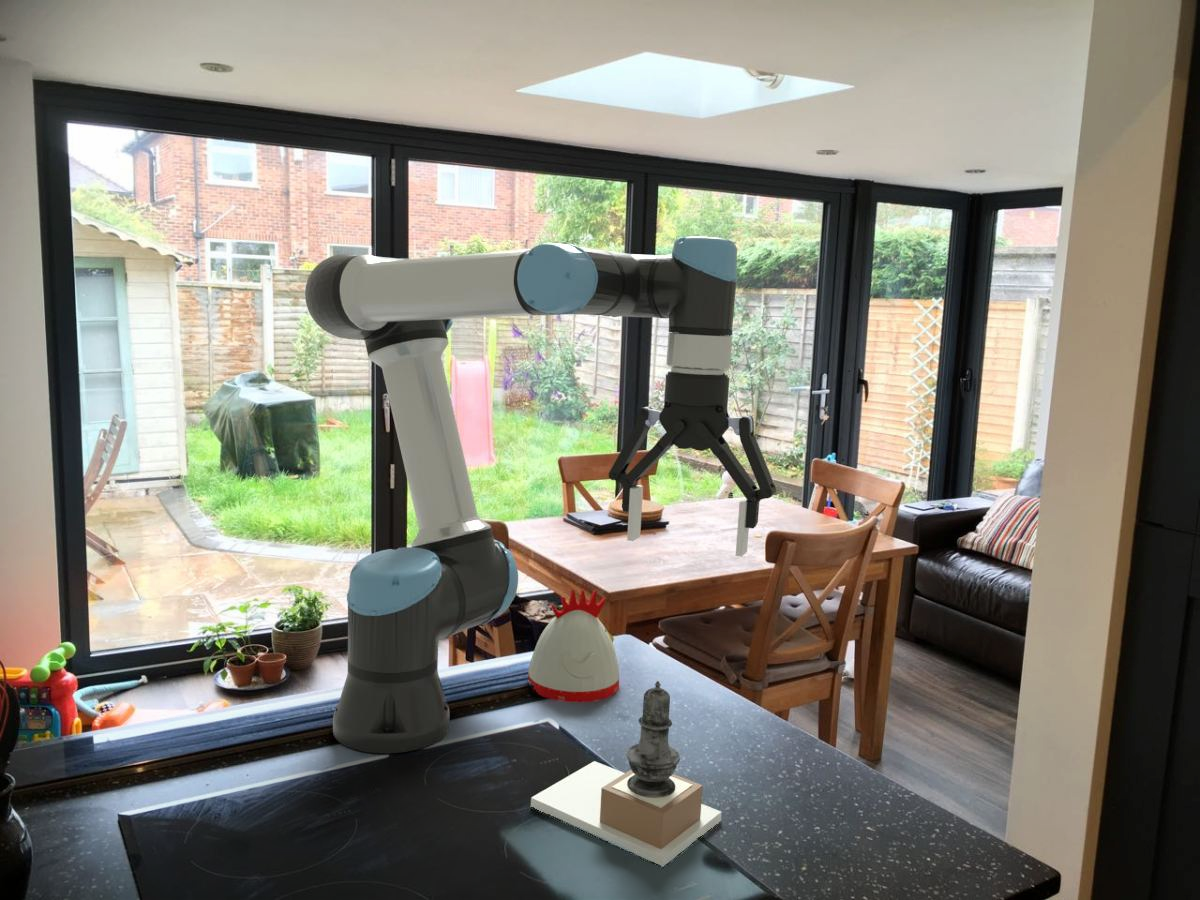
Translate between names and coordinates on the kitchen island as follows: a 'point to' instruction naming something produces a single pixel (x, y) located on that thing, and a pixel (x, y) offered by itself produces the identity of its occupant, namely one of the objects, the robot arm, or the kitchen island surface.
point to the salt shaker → (653, 748)
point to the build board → (587, 811)
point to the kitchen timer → (575, 654)
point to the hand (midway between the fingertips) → (686, 546)
